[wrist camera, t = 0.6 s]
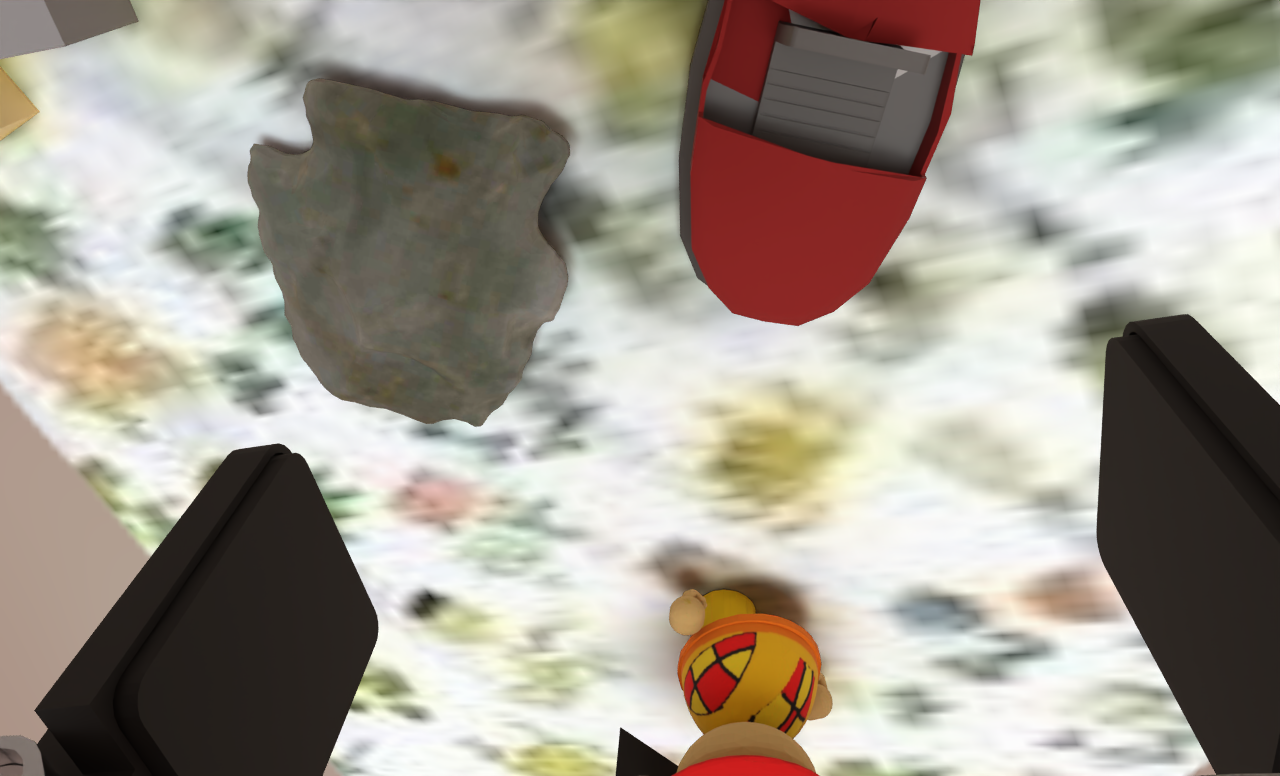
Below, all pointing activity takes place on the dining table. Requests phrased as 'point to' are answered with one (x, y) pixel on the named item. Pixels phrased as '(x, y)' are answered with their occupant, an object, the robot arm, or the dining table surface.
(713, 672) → the toy
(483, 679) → the dining table surface
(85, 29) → the charcoal brick
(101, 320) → the dining table surface
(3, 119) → the ochre brick
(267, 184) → the artifact
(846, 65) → the bumper car
